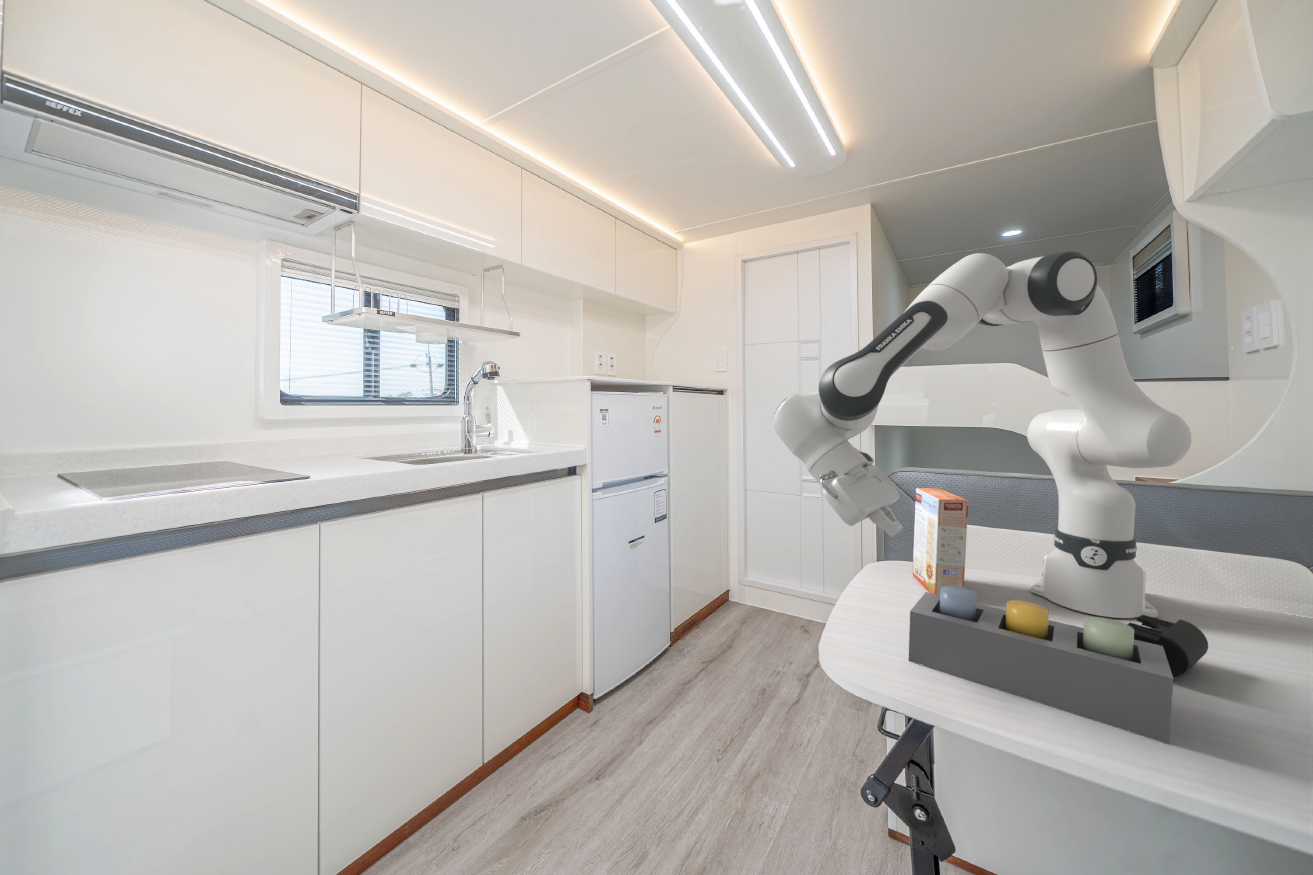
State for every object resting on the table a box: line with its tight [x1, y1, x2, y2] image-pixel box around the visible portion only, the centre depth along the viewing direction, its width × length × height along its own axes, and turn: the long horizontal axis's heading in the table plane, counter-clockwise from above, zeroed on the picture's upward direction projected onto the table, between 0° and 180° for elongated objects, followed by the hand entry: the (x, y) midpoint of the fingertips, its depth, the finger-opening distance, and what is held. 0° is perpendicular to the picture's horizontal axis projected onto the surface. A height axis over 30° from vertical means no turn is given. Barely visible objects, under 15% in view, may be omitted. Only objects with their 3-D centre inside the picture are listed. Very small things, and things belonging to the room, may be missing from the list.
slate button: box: [940, 586, 978, 621], centre depth 75 cm, size 5×5×4 cm
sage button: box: [1083, 616, 1134, 660], centre depth 63 cm, size 5×5×4 cm
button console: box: [908, 591, 1174, 745], centre depth 69 cm, size 10×28×8 cm, turn 48°
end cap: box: [1127, 615, 1209, 678], centre depth 72 cm, size 10×7×7 cm
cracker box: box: [912, 487, 969, 595], centre depth 104 cm, size 14×6×21 cm, turn 168°
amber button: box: [1005, 599, 1050, 639], centre depth 69 cm, size 5×5×4 cm
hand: (897, 533), depth 80 cm, fingers closed
